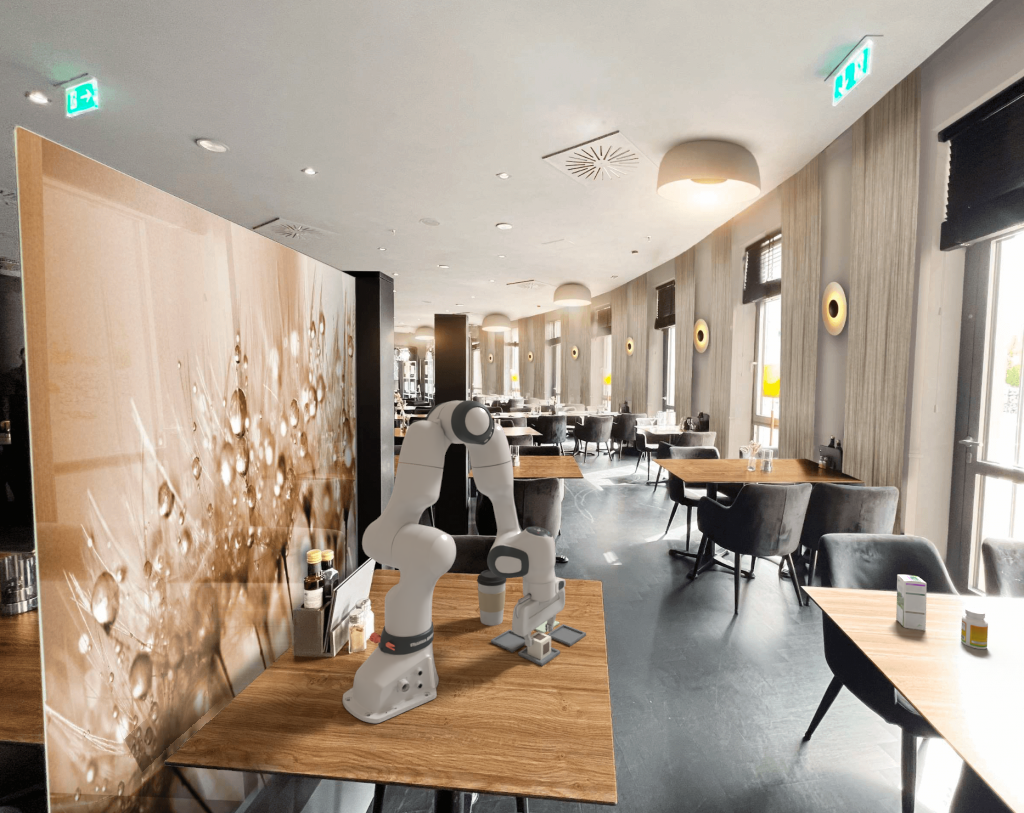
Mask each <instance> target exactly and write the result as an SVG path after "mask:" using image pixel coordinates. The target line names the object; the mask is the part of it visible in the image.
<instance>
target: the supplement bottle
mask: <svg viewBox="0 0 1024 813" xmlns="http://www.w3.org/2000/svg"><path fill="white" fill-rule="evenodd" d="M964 612H965V615H963V616H962V618H961V628H960V629H961V630H960V632H961V633H960V641H961V643H962V644H963V645H965V646H967V647H970V648H972V649H977V650H985V649H987V648H988V634H989V622H988V621H987V620H986V619H985V618H986V613H985V612H984V611H983V610H981V609H978V608H975V607H974V608H973V607H965V611H964Z"/></svg>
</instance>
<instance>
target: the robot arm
mask: <svg viewBox="0 0 1024 813" xmlns="http://www.w3.org/2000/svg"><path fill="white" fill-rule="evenodd" d="M451 444H457V445H458V444H459V445H460V444H463V445H464V446H465V447H466V448H467V451H468V453H469V459H470V460H469V461H470V466H471V472H472V477H473V480H474V484H475V487H476V489H477V490H478V491H479V492H480V493H481V494H482V495H484V496H486V497H488V499H489V500H490V502H491V503H492V506H493V512H494V513H493V514H494V518H495V522H496V529H497V532H496V535H495V540H494V542H493V544H492V546H491V548H490V550H489V552H488V554H487V558H486V562H487V567H488V570H490V571H491V572H492V573H493V574H494V575H496V576H497V577H500V578H506V579H512V578H515V579H516V578H521V577H522V595H523V597H520V598H519V599H518V600H517V603H516V604H515V605H514V608H513V610H512V621H511V630H512V631H513V632H514V634H517V635H519V636H522V637H524V639H525V645H524V646H526V647H530V646H532V645H533V644H534V642H533V641H534V639H533V638H531V635H532V632H533V631H535V630H534V629H536V628H537V627H539V626H540V625H541V624H543V623H544V622H546V621H547V624H545V627H546V628H545V630H546V631H547V632H548V633H550V632H552V631H553V630H554V627H553V624H554V622H555V621H556V619H557V614H559V613H560V612H562V611H563V610H564V609H565V604H566V589H565V587H566V584H567V583H566V579H564V578H562V577H558V576H556V572H555V565H556V545H555V544H556V543H555V538H554V536H553V534H552V532H551V531H549V530H548V529H546V528H543V527H541V526H536V525H535V526H527V527H526V528H525V529H524V530H523V529H522V527H521V525H520V521H519V518H518V512H517V507H516V502H515V496H514V467H513V465H514V464H513V459H512V455H511V454H512V453H511V449H510V445H509V441H508V438H507V435H506V432H505V430H504V428H503V426H502V425H501V424H499V423H498V422H495V421H494V420H493V416H492V415H491V412H490V411H489V409H488V407H487V406H486V405H484V403H482V402H480V401H477V400H470V399H468V400H457V399H456V400H451V401H446V402H441V403H438V404H437V405H435V406H433V407H432V408H431V409H430V410H429V411H428V413H427V415H426V417H425V418H424V419H421V420H418V421H414V422H413V423H411V424H410V425H409V426H408V428H407V429H406V433H405V435H404V438H403V440H402V444H401V448H400V452H399V454H398V455H399V456H398V462H397V468H396V472H395V477H394V478H395V479H394V483H393V488H392V492H391V495H390V498H389V500H388V502H387V505H386V506H385V508H384V510H383V511H382V513H381V514H380V516H378V517H377V519H375V520H374V521H372V522H371V523H370V524H369V525H368V526H367V527H366V528H365V531H364V532H363V535H362V541H361V545H362V546H361V547H362V550H363V552H364V554H365V555H366V556H367V557H369V558H370V559H372V560H373V561H376V562H377V563H378V564H380V565H383V566H387V567H390V568H391V567H392V568H394V569H398V570H399V574H400V575H399V577H400V578H399V582H398V583H396V584H395V585H393V586H392V587H391V588H390V589H388V592H386V594H385V597H384V625H383V626H384V627H383V628H382V631H381V634H379V633H377V632H375V631H374V632H371V634H370V635H369V640H370V642H372V643H374V644H377V645H378V646H376V648H375V649H374V651H372V653H371V654H370V655H369V656H368V657H367V658H366V659H365V661H364V662H363V663H362V664H361V665H360V667H358V669H357V670H356V672H355V674H354V678H353V686H352V687H350V688H349V689H348V690H347V691H345V692H343V695H342V704H343V707H344V708H345V709H346V711H347V712H348V713H349V714H351V715H353V716H354V717H355V718H357V719H358V720H360V721H363V722H366V723H369V724H379V723H382V722H384V721H388V720H389V719H392V718H394V717H396V716H399V715H400V714H404V713H405V712H408V711H410V710H411V709H414V708H417V707H418V706H421V705H423V704H425V703H428V702H431V701H432V700H434V699H437V696H438V695H437V688H438V685H439V681H440V680H439V679H440V677H439V676H438V671H437V668H436V664H435V657H434V647H433V641H434V634H435V633H434V631H435V630H434V622H433V620H432V618H433V617H432V616H433V613H432V612H433V595H434V590H435V587H436V584H437V582H438V580H440V578H441V577H442V576H444V574H446V573H447V572H448V571H449V570H450V569H451V568H452V566H453V564H455V563H454V562H455V560H456V557H457V546H456V543H455V540H454V538H453V537H452V535H451V534H449V533H447V532H445V531H443V530H442V529H439V528H437V527H434V526H428V525H423V524H419V523H420V519H421V517H422V515H423V513H424V511H425V510H426V509H428V508H429V507H431V506H434V504H436V503H437V501H438V500H439V498H440V492H441V487H442V480H443V472H444V466H445V457H446V456H445V455H446V452H447V451H448V449H449V447H450V445H451Z"/></svg>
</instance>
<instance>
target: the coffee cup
mask: <svg viewBox="0 0 1024 813" xmlns="http://www.w3.org/2000/svg"><path fill="white" fill-rule="evenodd" d="M476 583H477V596H478V608H479V617H480V623H481V624H483V625H486V626H492V627H493V626H499V625H501V624H502V623H503V620H504V611H505V610H504V609H505V605H506V604H505V602H506V589H507V588H506V583H507V578H500V577H497V576H496V575H494V574H493V573H492V572H491V571H490V569H486V570H483V571H481V572H480V573H479V575H477V579H476Z"/></svg>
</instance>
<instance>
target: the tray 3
mask: <svg viewBox="0 0 1024 813" xmlns="http://www.w3.org/2000/svg"><path fill="white" fill-rule="evenodd" d="M546 635H549V636H551V640H554V641H557V642H559V643H562V644H564V645H567V646H569V647H572V646H573V645H575V644H576V643H577V642H579V641H581V640H582V639H583V638H585V637H586V636H587V632H585V631H583V630H580V629H578V628H577V629H576V628H574V627H573V626H569V625H568V624H564V623H563V624H561V625H559V626H558V627H557V628H554V629H553V630H552V631H551V632H548V633H547V634H546Z"/></svg>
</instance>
